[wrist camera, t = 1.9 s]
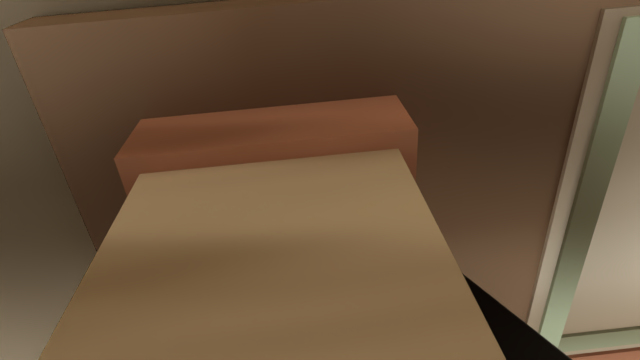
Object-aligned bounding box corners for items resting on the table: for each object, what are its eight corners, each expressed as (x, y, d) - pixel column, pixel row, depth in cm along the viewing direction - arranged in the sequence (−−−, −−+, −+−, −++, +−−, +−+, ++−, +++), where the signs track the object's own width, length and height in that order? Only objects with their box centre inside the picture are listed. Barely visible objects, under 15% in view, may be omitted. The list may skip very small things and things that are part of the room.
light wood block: (392, 281, 10) (486, 584, 6) (196, 303, 10) (124, 630, 6) (396, 95, 8) (561, 348, 3) (140, 119, 8) (-66, 417, 3)
